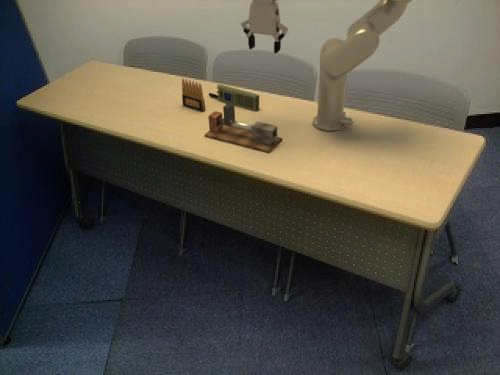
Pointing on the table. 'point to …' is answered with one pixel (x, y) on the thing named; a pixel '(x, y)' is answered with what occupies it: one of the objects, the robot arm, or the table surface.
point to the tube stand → (244, 134)
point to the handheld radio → (237, 97)
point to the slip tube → (232, 118)
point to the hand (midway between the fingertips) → (264, 50)
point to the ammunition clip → (192, 95)
